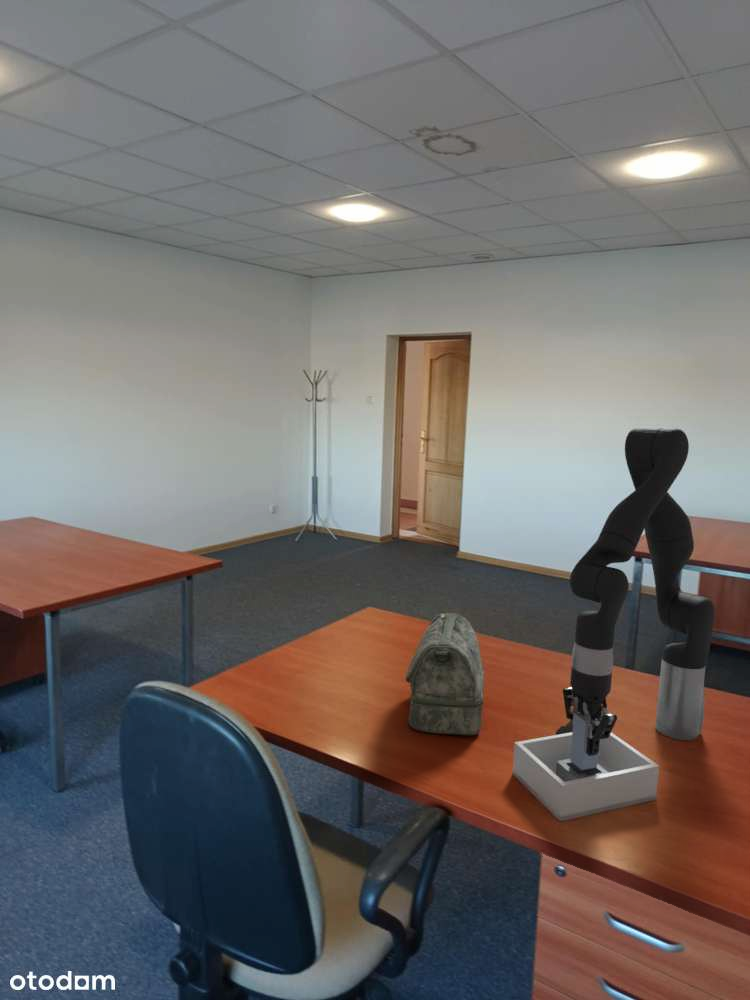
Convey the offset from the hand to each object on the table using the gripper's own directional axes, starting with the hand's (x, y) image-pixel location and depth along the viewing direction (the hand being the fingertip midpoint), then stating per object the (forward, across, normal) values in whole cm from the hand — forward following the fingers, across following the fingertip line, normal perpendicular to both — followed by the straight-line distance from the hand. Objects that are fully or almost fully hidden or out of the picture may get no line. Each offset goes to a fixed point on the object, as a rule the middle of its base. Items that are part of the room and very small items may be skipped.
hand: (584, 748), depth 128 cm
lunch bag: (+8, +37, +12) cm, 40 cm away
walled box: (+8, 0, 0) cm, 8 cm away
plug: (+3, 0, 0) cm, 3 cm away
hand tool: (+8, +16, -10) cm, 21 cm away
